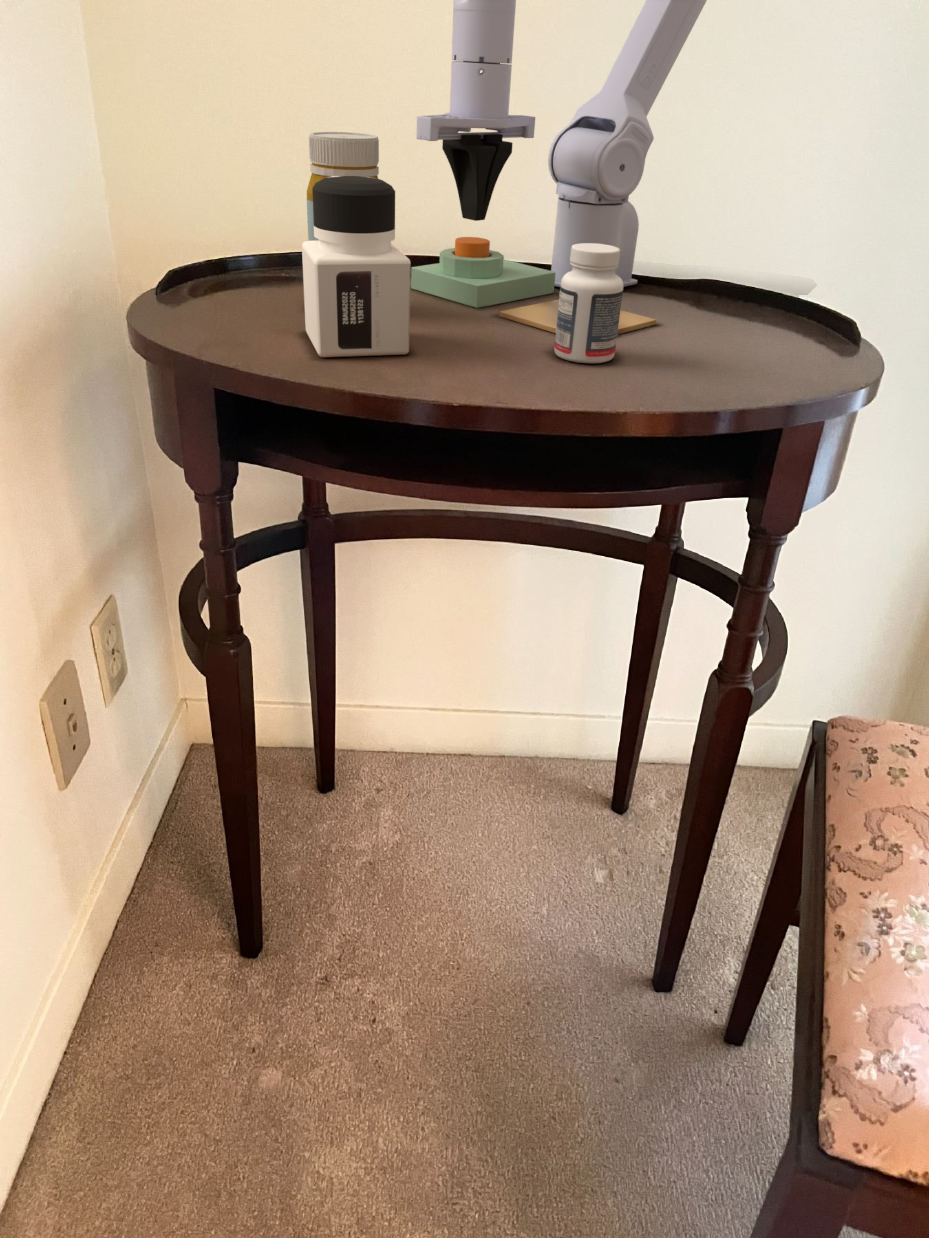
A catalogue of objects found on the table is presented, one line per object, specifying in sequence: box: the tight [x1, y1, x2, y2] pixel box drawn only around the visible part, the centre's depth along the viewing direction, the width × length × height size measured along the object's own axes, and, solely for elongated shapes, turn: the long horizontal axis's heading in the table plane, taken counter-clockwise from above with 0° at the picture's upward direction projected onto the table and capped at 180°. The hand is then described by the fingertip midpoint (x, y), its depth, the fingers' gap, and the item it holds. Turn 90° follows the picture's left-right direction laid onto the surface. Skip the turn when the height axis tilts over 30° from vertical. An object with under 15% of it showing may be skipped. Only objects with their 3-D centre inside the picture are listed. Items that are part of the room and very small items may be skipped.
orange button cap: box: [454, 236, 491, 258], centre depth 93 cm, size 4×4×2 cm
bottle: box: [306, 131, 380, 241], centre depth 83 cm, size 7×7×15 cm
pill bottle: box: [553, 243, 624, 364], centre depth 76 cm, size 5×5×9 cm
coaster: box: [498, 298, 657, 335], centre depth 88 cm, size 11×11×1 cm
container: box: [301, 176, 412, 358], centre depth 74 cm, size 8×8×13 cm
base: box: [410, 247, 556, 309], centre depth 96 cm, size 12×10×4 cm
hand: (473, 219), depth 92 cm, fingers closed
